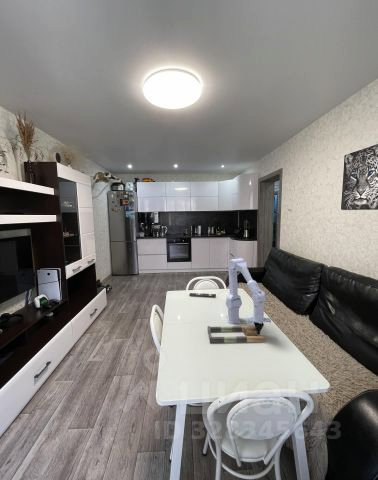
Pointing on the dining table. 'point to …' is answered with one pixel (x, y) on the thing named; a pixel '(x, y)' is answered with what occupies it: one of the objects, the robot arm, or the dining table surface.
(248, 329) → the tan wooden block
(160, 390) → the dining table surface
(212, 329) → the trap lane
